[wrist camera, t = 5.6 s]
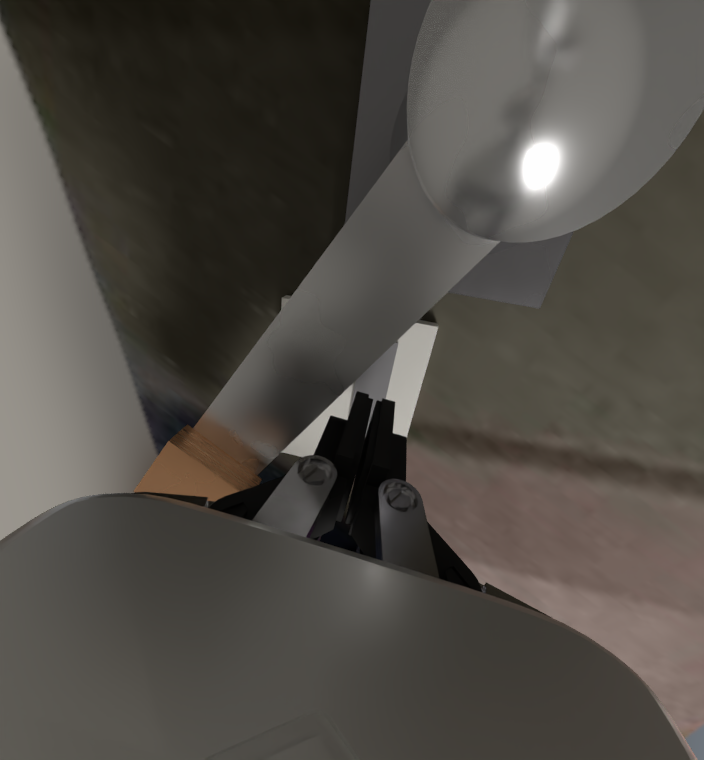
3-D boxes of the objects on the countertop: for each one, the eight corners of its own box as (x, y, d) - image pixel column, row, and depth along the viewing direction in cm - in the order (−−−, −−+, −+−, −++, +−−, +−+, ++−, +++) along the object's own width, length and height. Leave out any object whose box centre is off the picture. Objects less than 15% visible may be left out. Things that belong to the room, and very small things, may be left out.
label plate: (286, 295, 14) (280, 298, 13) (437, 323, 13) (438, 328, 13) (280, 444, 18) (275, 452, 17) (395, 471, 17) (394, 480, 17)
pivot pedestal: (375, 0, 9) (358, -114, 6) (650, 26, 9) (785, -87, 5) (343, 270, 13) (322, 283, 10) (532, 303, 12) (573, 328, 9)
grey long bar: (510, -28, 6) (636, -350, 3) (626, 129, 7) (840, 30, 3) (159, 462, 15) (85, 531, 11) (226, 508, 15) (175, 586, 12)
